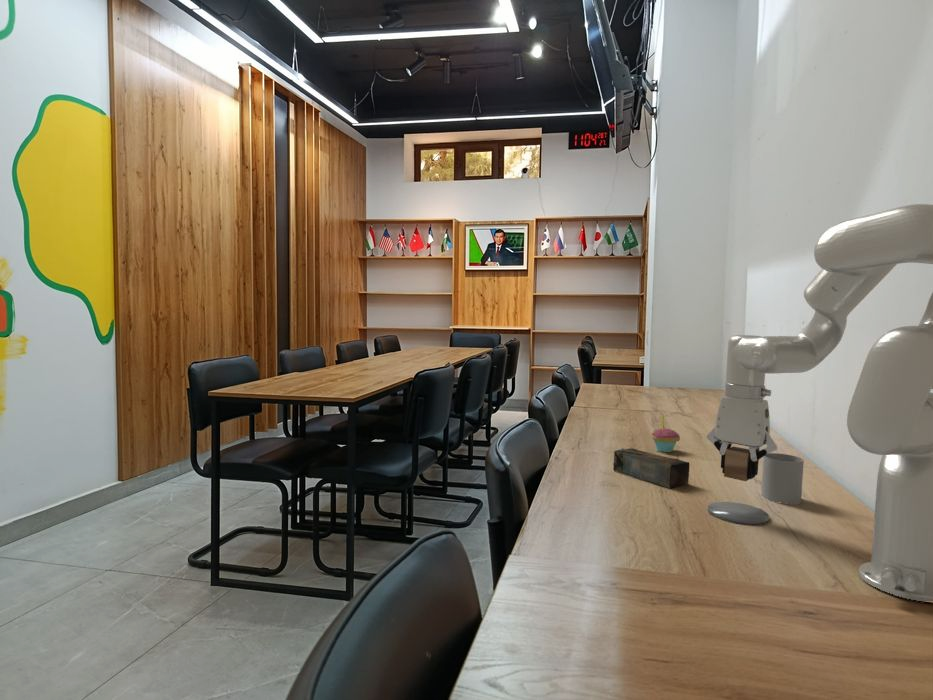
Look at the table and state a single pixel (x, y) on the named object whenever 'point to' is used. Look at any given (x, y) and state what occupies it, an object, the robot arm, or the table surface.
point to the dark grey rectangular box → (651, 467)
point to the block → (736, 463)
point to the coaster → (738, 513)
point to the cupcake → (665, 438)
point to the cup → (782, 478)
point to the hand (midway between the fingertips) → (738, 474)
